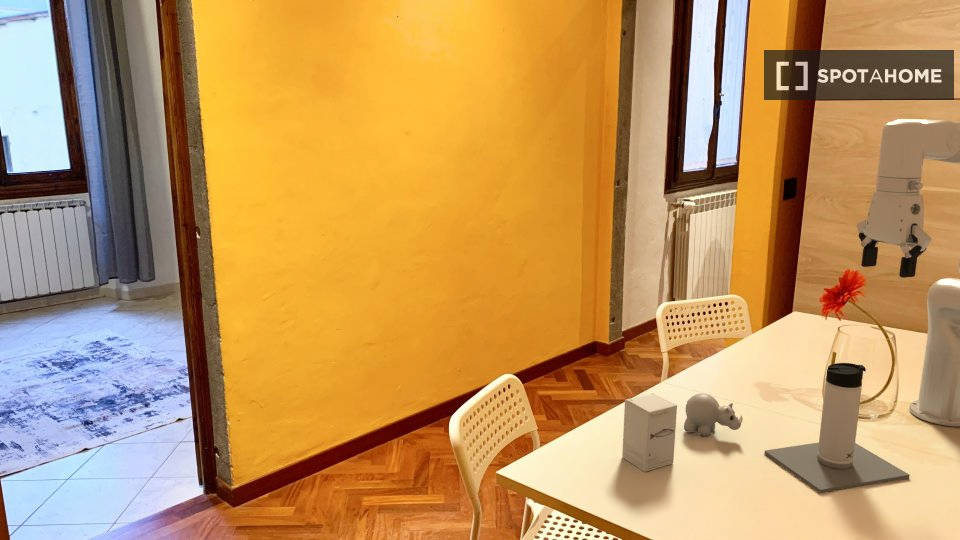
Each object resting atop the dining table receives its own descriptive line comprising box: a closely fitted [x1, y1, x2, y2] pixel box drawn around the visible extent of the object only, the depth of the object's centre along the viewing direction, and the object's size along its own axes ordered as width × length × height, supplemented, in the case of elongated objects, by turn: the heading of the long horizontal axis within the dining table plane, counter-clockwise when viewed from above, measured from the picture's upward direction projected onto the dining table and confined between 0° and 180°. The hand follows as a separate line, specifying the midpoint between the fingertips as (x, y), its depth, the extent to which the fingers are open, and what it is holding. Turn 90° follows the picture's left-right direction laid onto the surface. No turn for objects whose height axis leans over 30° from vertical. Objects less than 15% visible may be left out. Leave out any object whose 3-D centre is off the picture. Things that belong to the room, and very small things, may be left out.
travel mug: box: [817, 362, 867, 469], centre depth 142 cm, size 6×7×20 cm
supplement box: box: [621, 393, 678, 473], centre depth 145 cm, size 7×7×13 cm
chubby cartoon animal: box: [683, 393, 743, 437], centre depth 157 cm, size 7×12×8 cm, turn 54°
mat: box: [763, 441, 910, 494], centre depth 144 cm, size 20×16×1 cm
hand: (887, 271), depth 147 cm, fingers open, 9 cm apart
